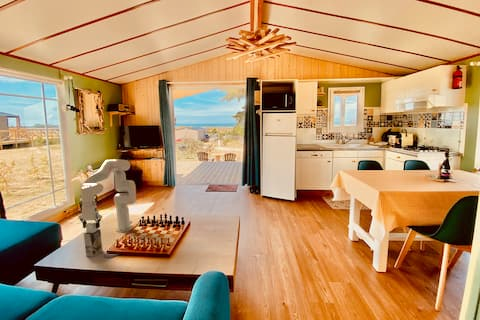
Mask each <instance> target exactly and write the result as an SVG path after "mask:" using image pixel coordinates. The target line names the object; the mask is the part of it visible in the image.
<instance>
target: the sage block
mask: <svg viewBox="0 0 480 320" xmlns="http://www.w3.org/2000/svg"><path fill="white" fill-rule="evenodd" d="M98 229H99V228H97V229H96V222H95V221H89V222H87V224H86V228H85V230H86V233H94V232H96V231H97V230H98Z"/></svg>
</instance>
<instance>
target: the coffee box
mask: <svg viewBox="0 0 480 320" xmlns="http://www.w3.org/2000/svg"><path fill="white" fill-rule="evenodd" d="M83 240H84V247H85V256H86V257H95V256H97V255H98V254H100V253H101V252H102V251H103V244H102V243H103V242H102V233H101V229H99V228H98V230H97V231H96V232H94V233H87V232H85V233H84V234H83Z"/></svg>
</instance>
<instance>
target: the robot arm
mask: <svg viewBox="0 0 480 320" xmlns="http://www.w3.org/2000/svg"><path fill="white" fill-rule="evenodd" d="M130 168H131V163H130V161H129V160H127V159H119V158H117V159H116V158H115V159H105V160H104V162H103V163H101V165H100V167H99V169H98V170H97V171H96V172H95V173H93V174H91V175H89V176H88V177H87V178H85V180H84V181H83V183H82V184H81V186H80V196H81V203H82V206H81V214H80V215H78V216H77V217H78V218H79V221H80V222H81V224H82V228H83V229H86V224H87V223H88V222H87V221H93V222H96V229H97V228H98V229H99V228H100V226H101V223H100V222H101V221H102V218H103V215H101V214H100V212H99V209H98V206H97V202H96V201H95V199H96V198H95V195H99V194H101V193H103V192H104V186H103V184H101V183H99V182H104V181H105V180H107V179H108V178H109V177H110V175H111V174H112V173H113V175H114V186H115V191H117V192H120V193H116V194H115V195H114V196H113V202H114V205H115V210H116V222H117V228H116V232H119V233H124V232H128V231H130V230H132V229H133V225H131V224H132V223H133V221H132V220H130V212H129V207H128V205H134V204H135V203H136V201H137V188H136V187H137V186H136V184H135V181H134V180H131V179H130V180H129V179H127V177H126V176H127V174H126V171H128V170H130Z"/></svg>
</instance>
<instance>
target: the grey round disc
mask: <svg viewBox="0 0 480 320" xmlns="http://www.w3.org/2000/svg"><path fill="white" fill-rule="evenodd" d="M108 253H109V252H107V253H105V254H103V258H105V259H113V258H115V257H117V256H119V253H118V254H108Z"/></svg>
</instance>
